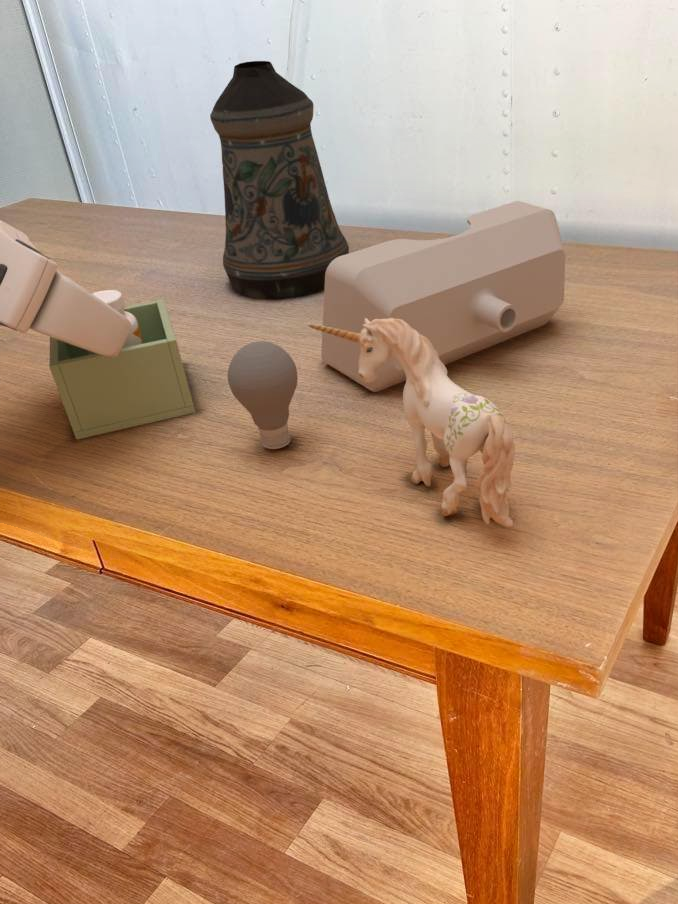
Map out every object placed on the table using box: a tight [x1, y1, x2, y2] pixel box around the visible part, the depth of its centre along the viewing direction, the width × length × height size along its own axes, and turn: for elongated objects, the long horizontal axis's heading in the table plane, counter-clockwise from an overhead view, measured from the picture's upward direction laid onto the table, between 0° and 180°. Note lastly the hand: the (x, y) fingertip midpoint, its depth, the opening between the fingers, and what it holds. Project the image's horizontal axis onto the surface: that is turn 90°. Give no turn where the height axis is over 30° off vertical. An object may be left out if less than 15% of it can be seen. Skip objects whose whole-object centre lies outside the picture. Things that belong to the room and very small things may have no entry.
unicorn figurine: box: [306, 318, 516, 528], centre depth 66 cm, size 7×20×13 cm, turn 46°
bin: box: [48, 298, 196, 440], centre depth 85 cm, size 12×12×8 cm
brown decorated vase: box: [209, 60, 350, 301], centre depth 106 cm, size 16×19×25 cm
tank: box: [320, 200, 566, 393], centre depth 86 cm, size 25×16×12 cm, turn 125°
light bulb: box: [227, 341, 298, 450], centre depth 75 cm, size 6×6×10 cm
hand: (118, 337), depth 84 cm, fingers closed on supplement bottle, 5 cm apart
